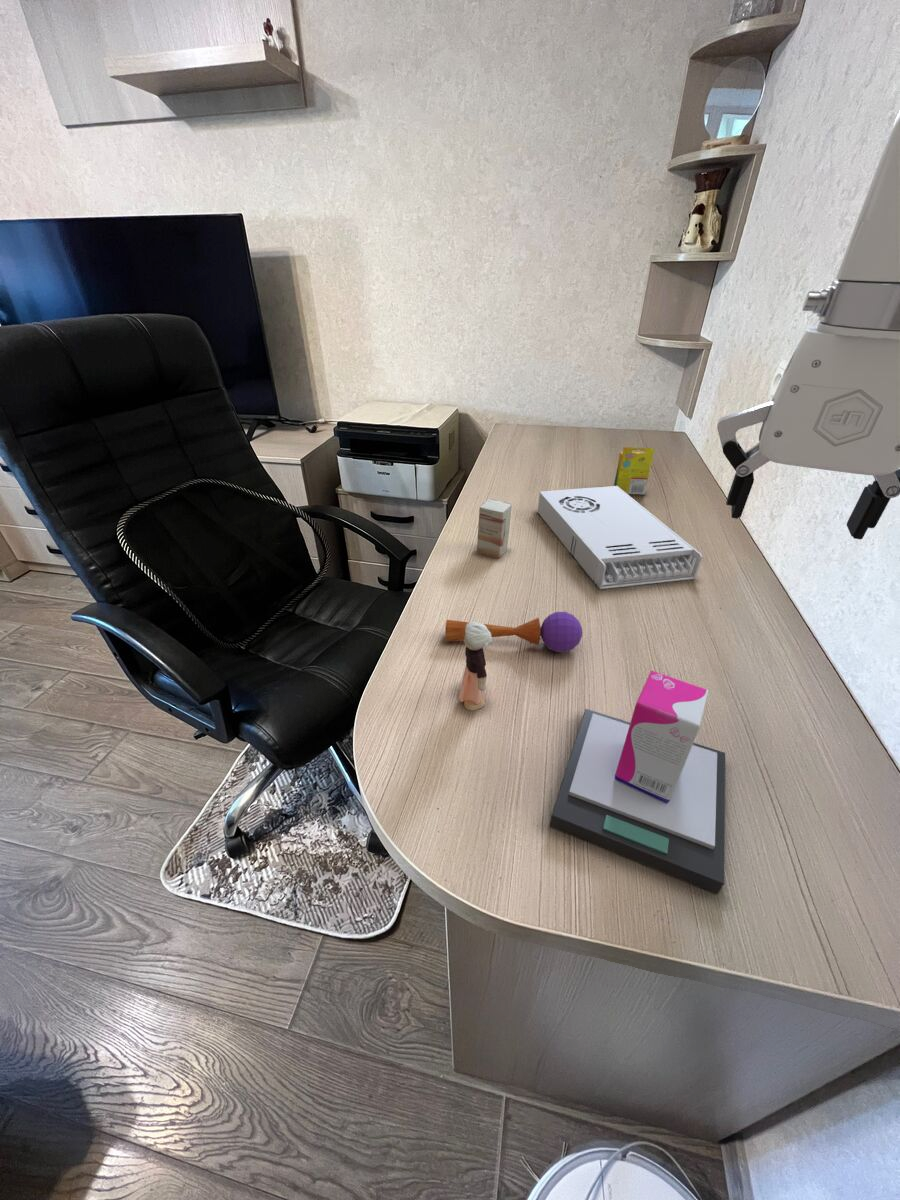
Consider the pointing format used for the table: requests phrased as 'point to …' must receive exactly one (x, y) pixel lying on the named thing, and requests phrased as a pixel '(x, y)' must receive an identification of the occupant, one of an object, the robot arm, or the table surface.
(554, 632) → the kendama
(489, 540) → the medicine carton
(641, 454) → the crayon box
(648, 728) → the supplement box
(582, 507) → the power supply unit
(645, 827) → the scale
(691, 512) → the table surface
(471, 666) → the grandmother figurine
